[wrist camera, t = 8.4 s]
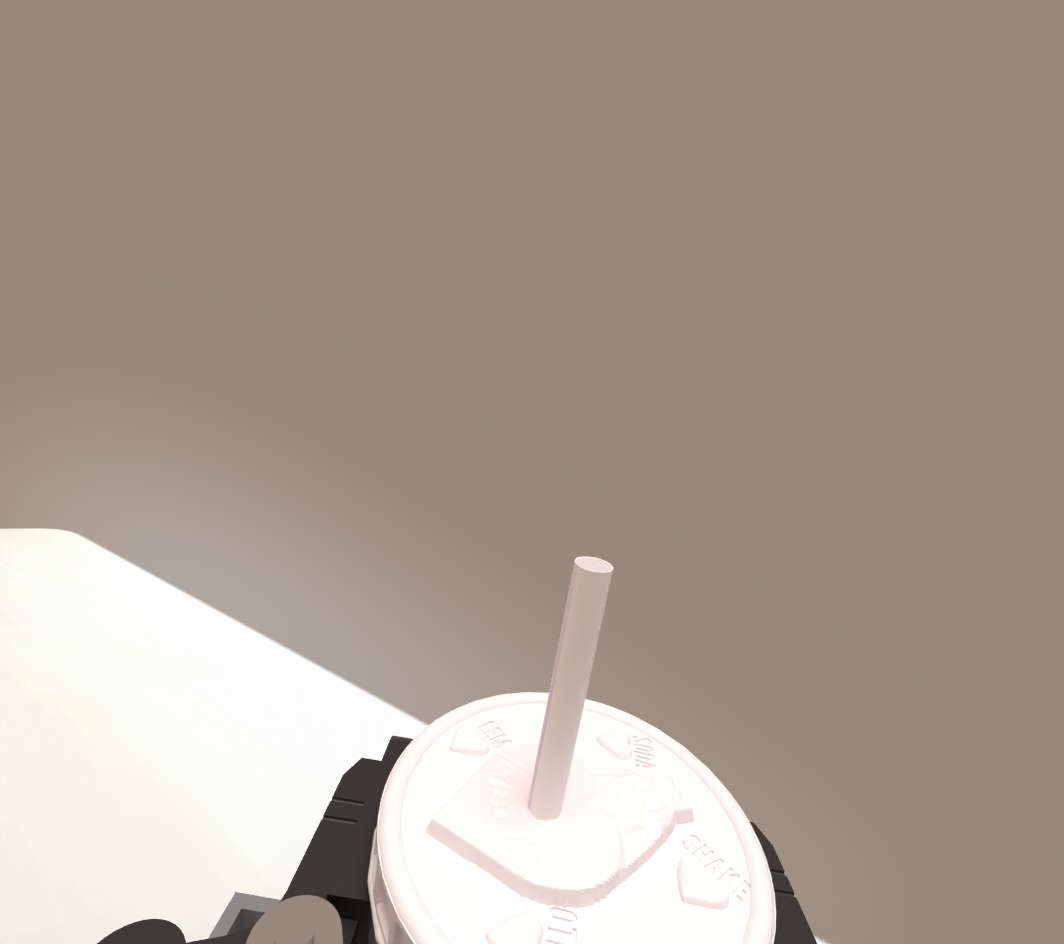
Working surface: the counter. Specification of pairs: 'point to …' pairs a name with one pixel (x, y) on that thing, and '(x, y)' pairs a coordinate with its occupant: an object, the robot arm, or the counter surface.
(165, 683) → the counter surface
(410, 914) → the smoothie
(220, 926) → the tray
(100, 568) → the counter surface
